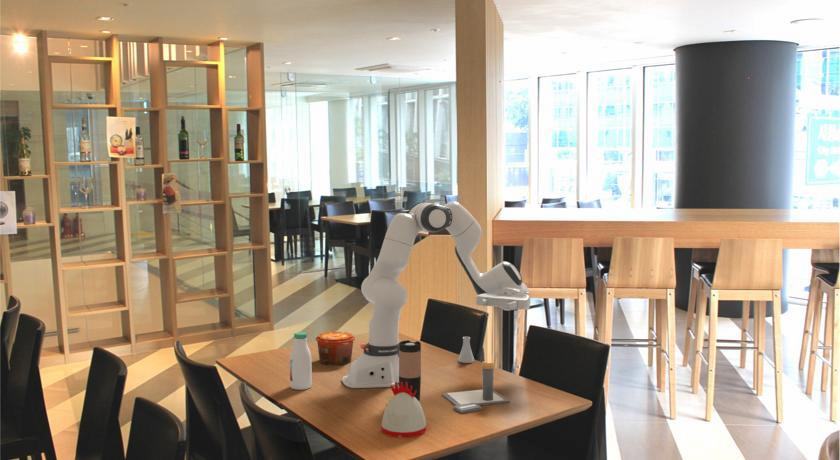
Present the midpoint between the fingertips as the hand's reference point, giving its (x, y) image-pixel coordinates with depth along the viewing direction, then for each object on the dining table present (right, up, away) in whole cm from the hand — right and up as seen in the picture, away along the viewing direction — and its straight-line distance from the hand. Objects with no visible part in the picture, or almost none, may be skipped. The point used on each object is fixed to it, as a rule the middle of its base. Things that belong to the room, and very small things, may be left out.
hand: (496, 304), depth 280 cm
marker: (-5, -31, -16) cm, 35 cm away
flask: (-9, -27, +35) cm, 45 cm away
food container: (-63, -27, +34) cm, 76 cm away
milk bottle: (-71, -30, -1) cm, 77 cm away
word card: (-12, -32, -25) cm, 43 cm away
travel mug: (-31, -32, -15) cm, 47 cm away
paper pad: (-9, -31, -13) cm, 35 cm away
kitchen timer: (-33, -34, -44) cm, 65 cm away
